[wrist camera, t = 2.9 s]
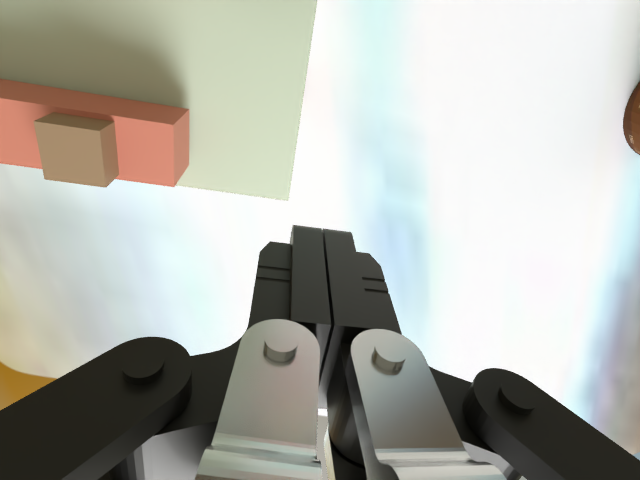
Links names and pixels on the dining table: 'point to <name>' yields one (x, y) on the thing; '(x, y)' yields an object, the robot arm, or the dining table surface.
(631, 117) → the food container
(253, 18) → the lid
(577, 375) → the dining table surface
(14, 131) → the key bar
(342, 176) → the dining table surface
